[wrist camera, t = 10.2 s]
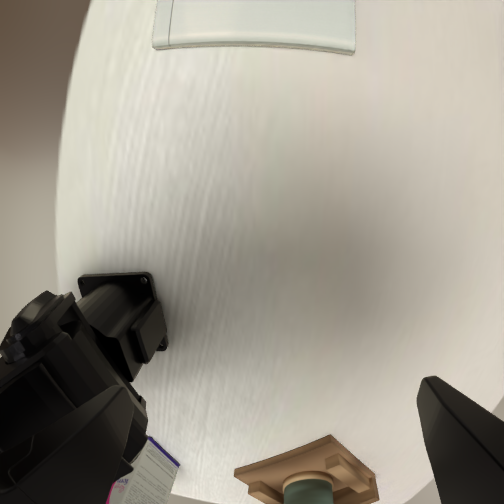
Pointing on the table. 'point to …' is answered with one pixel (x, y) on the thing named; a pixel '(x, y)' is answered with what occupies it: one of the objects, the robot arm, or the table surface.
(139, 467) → the supplement box
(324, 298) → the table surface
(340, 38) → the hard drive
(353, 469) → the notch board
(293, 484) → the oak spool
